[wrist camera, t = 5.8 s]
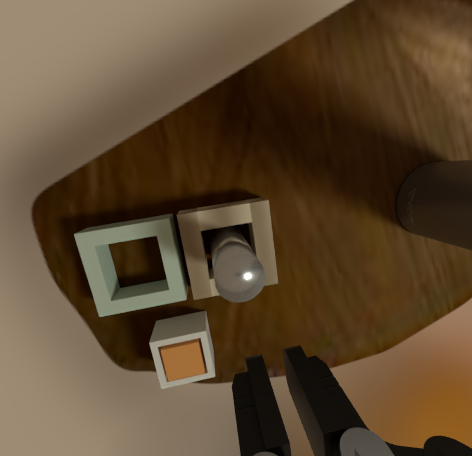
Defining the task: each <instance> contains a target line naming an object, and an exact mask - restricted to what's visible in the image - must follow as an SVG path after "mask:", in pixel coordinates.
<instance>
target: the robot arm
mask: <svg viewBox="0 0 472 456" xmlns="http://www.w3.org/2000/svg"><path fill="white" fill-rule="evenodd" d="M397 214H398V217H399V220H400V222H401V223H402V225H403V226H404V227H405V228H406V229H407V230H408V231H410V232H411V233H413V234H417V235H420V236H424V237H427V238H431V239H434V240H438V241H441V242H444V243H447V244H451V245H454V246H458V247H461V248H465V249H468V250H472V160H463V161H443V162H432V163H427V164H424V165H422V166H420V167H419V168H417V169H415V170H414V171H413V172H412V173H411V174H410V175H409V176H408V177H407V178H406V180H405V181H404V183H403V185H402V187H401V189H400V191H399V194H398V198H397ZM283 356H284V364H285V371H286V379H287V383H288V387H289V391H290V394H291V396H292V399H293V401H294V404H295V407H296V409H297V412H298V414H299V417H300V419H301V422H302V425H303V427H304V430H305V432H306V435H307V437H308V440H309V443H310V445H311V448H312V450H313V453H314V455H315V456H472V448H470V447H468V446H466V445H464V444H463V443H461V442H459V441H457V440H455V439H452V438H449V437H445V436H433V437H430V438H429V439H427V441H426V442H425V444H424V449H422V448H413V447H404V446H397V445H393V444H390V443H388V442H385V441H383V440H382V439H381V438H380V437H379V436H378V435H377V434H375V433H374V432H372V431H370V430H369V429H368V428H367V427H366V425H365V424H364V422H363V421H362V419H361V418H360V416H359V415H358V413H357V411H356V410H355V408H354V407H353V405H352V404H351V402H350V401H349V399H348V397H347V396H346V394H345V393H344V391H343V389H342V388H341V387H340V386H339V383H338V382H337V380H336V378H335V377H334V376H333V374H332V372H331V371H330V369H329V368H328V366H327V364H326V363H324V362H323V361H322V360H320V359H319V358H318V357H317V356H312V357H308V358H307V357H306V355H305V353H304V351H303V349H302V348H301V346H295V347H290V348H286V349H283ZM245 361H246V367H247V372H244V373H239V374H235V378H234V381H233V384H232V391H233V399H234V407H235V415H236V421H237V430H238V438H239V445H240V453H241V456H291V449H290V443H289V439H288V436H287V433H286V430H285V427H284V424H283V420H282V417H281V414H280V411H279V408H278V405H277V401H276V399H275V395H274V392H273V389H272V386H271V383H270V380H269V376H268V373H267V370H266V367H265V363H264V360H263V357H262V355H261V354H260V355H255V356H251V357H246V358H245Z"/></svg>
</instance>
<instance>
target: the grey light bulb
mask: <svg viewBox="0 0 472 456" xmlns="http://www.w3.org/2000/svg"><path fill="white" fill-rule="evenodd" d="M210 245H211V254H212V263H213V272H214V281H215V287H216V289H217V291H218V293H219V294H220V295H221V296H222V297H223V298H225V299H227V300H229V301H232V302H245V301H248V300H251V299H252V298H254V297H255V296H257V295H258V294H259V292H260V291H261V290H262V288H263V286H264V283H265V271H264V268H263V266H262V264H261V263H260V261H259V260H258V258H257V257H256V255H255V253H254V252H253V250H252V249H251V247H250V246H249V244H248V243H247V241H246V240H245V238H244V237H243V235H242V234H241V232H240V231H239V230H237V229H236V228H233V227H223V228H220V229H218V230H217V231H216V232H215V233H214V234H213V236H212V238H211V242H210Z"/></svg>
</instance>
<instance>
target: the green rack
mask: <svg viewBox="0 0 472 456" xmlns="http://www.w3.org/2000/svg"><path fill="white" fill-rule="evenodd" d="M152 236H157V238H158V243H159V247H160V251H161V256H162V260H163V264H164V269H165V273H166V278H167V279H166V280H160V281H155V282H150V283H145V284H139V285H134V286H129V287H123V288H120V286H119V282H118V279H117V275H116V272H115V268H114V264H113V261H112V257H111V254H110V250H109V247H108V244H111V243H117V242H122V241H128V240H134V239H140V238H146V237H152ZM74 237H75V240H76V243H77V246H78V250H79V253H80V256H81V259H82V262H83V266H84V269H85V272H86V275H87V278H88V282H89V285H90V288H91V291H92V294H93V298H94V301H95V304H96V307H97V310H98V313H99V317H103V316H108V315H113V314H118V313H123V312H128V311H133V310H138V309H143V308H148V307H153V306H158V305H163V304H168V303H173V302H178V301H183V300H186V299H187V291H188V285H187V280H186V276H185V271H184V266H183V261H182V257H181V252H180V247H179V242H178V238H177V233H176V228H175V223H174V219H173V214H167V215H161V216H155V217H149V218H143V219H137V220H131V221H125V222H119V223H112V224H106V225H100V226H94V227H88V228H86V229H84V230H82V231H80V232H77V233H75V234H74Z"/></svg>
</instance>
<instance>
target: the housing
mask: <svg viewBox="0 0 472 456" xmlns="http://www.w3.org/2000/svg"><path fill="white" fill-rule="evenodd" d="M197 338H201V342H202V347H203V352H204V356H205V373H203V374H199V375H194V376H190V377H185V378H181V379H177V380H172V381H168V378H167V374H166V370H165V366H164V362H163V358H162V354H161V346H165V345H170V344H174V343H179V342H184V341H188V340H193V339H197ZM149 344H150V348H151V351H152V355H153V359H154V363H155V366H156V370H157V374H158V377H159V381H160V385H161V389H164V388H168V387H172V386H177V385H181V384H186V383H190V382H194V381H199V380H203V379H207V378H211V377H215V366H214V351H213V346H212V341H211V336H210V331H209V326H208V321H207V316H206V311H201V312H196V313H192V314H187V315H182V316H177V317H172V318H167V319H162V320H157V321H156V323H155V326H154V329H153V333H152V336H151V339H150V342H149Z"/></svg>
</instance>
